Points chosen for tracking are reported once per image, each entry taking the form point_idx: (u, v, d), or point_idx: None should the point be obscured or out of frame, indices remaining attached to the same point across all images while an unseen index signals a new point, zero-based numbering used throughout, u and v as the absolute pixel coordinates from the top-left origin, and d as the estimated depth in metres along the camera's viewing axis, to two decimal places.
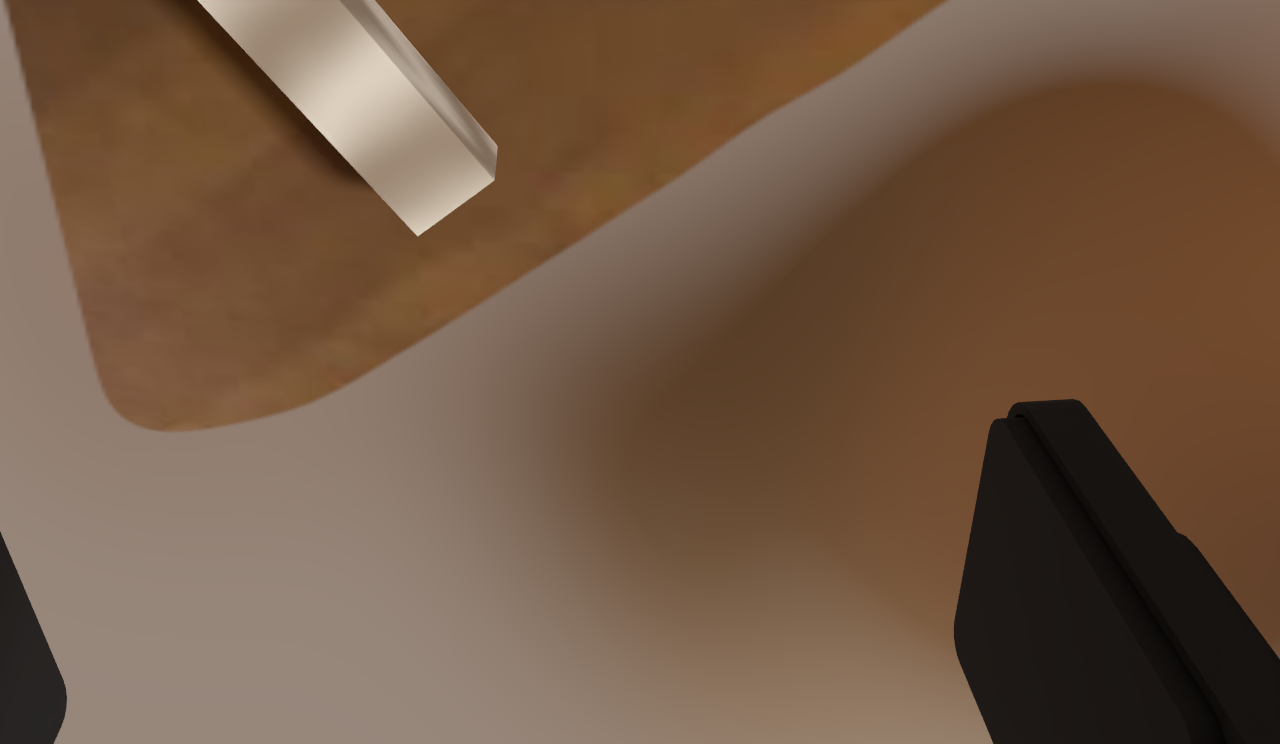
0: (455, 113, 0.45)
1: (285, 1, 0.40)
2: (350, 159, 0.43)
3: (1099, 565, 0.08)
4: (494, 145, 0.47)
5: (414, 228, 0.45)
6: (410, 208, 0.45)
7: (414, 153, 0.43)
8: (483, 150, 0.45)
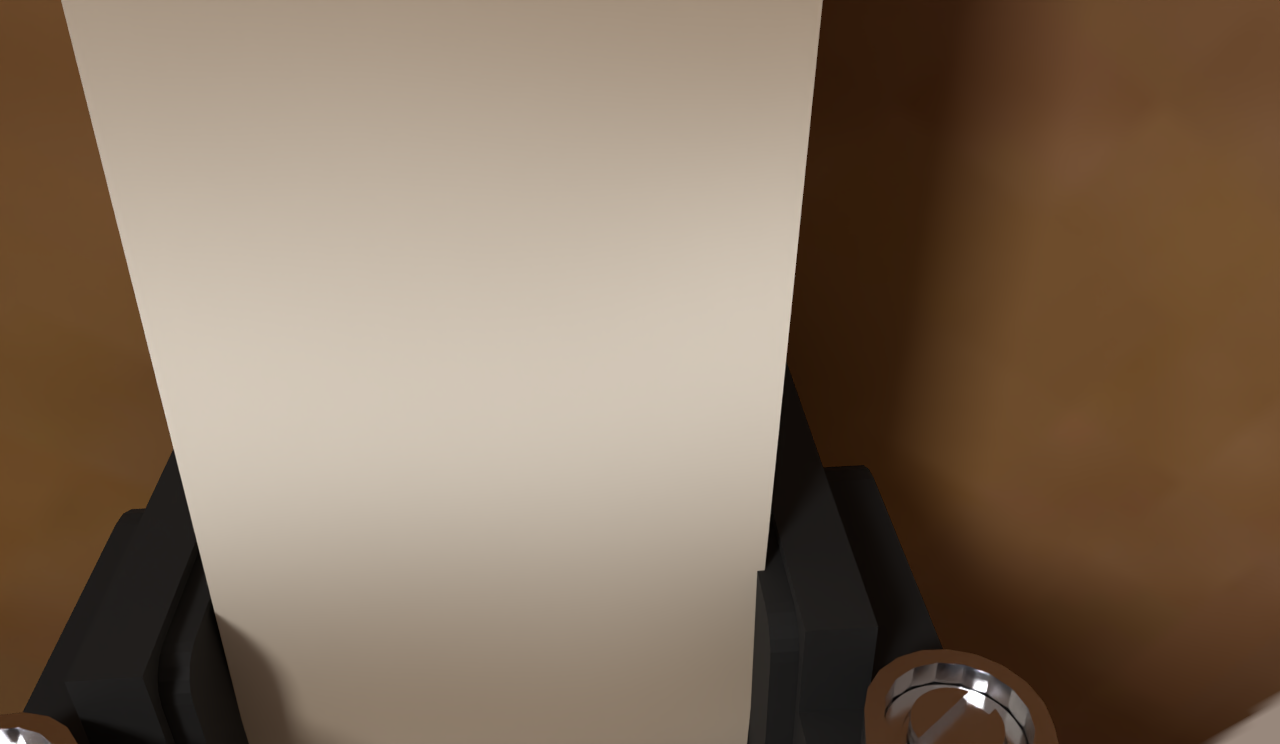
0: None
1: None
2: (787, 117, 0.06)
3: None
4: None
5: None
6: None
7: None
8: None
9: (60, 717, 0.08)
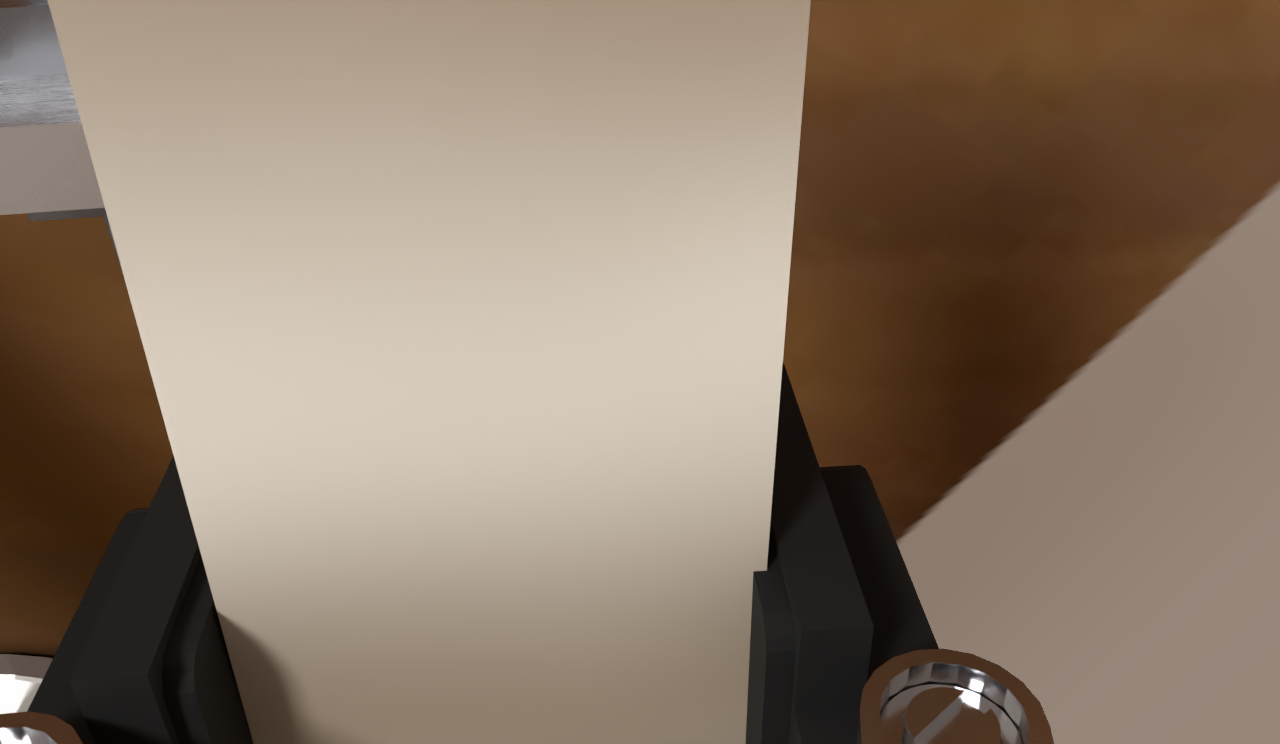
0: None
1: None
2: (778, 111, 0.06)
3: None
4: None
5: None
6: None
7: None
8: None
9: (64, 716, 0.08)
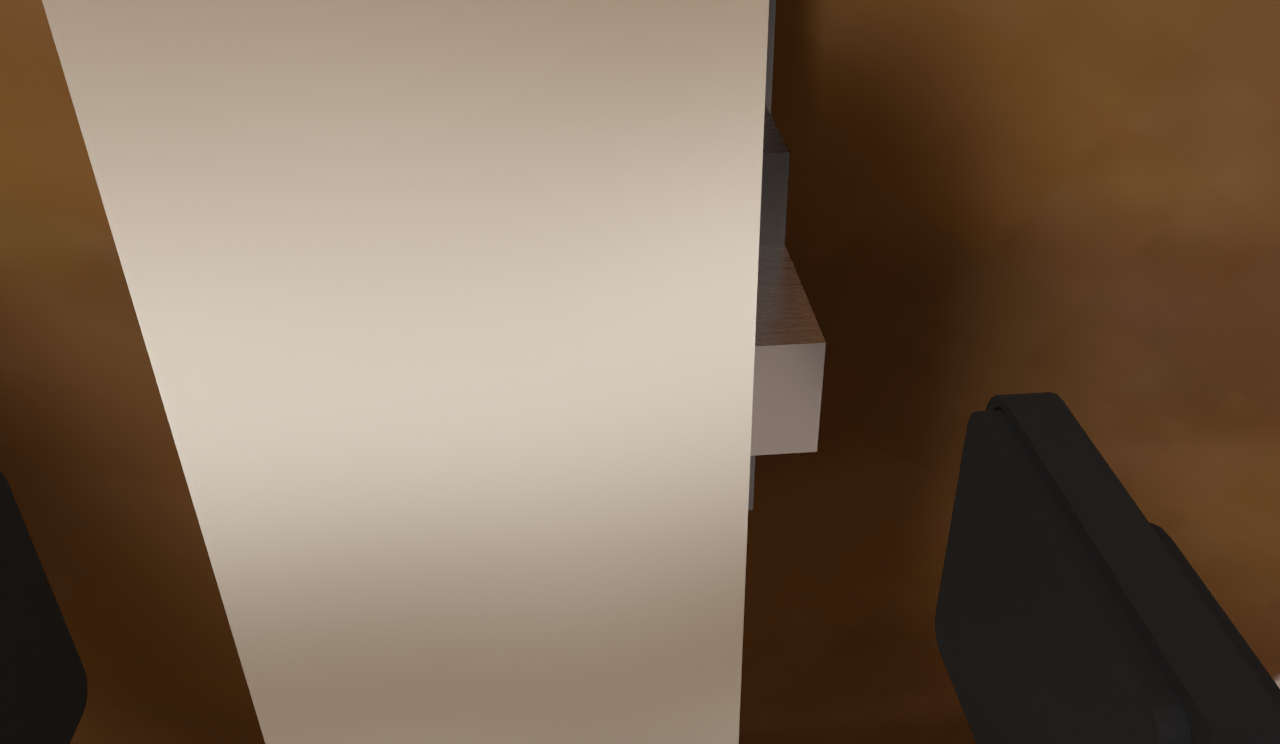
0: None
1: None
2: (743, 102, 0.07)
3: (1071, 555, 0.08)
4: None
5: None
6: None
7: None
8: None
9: None
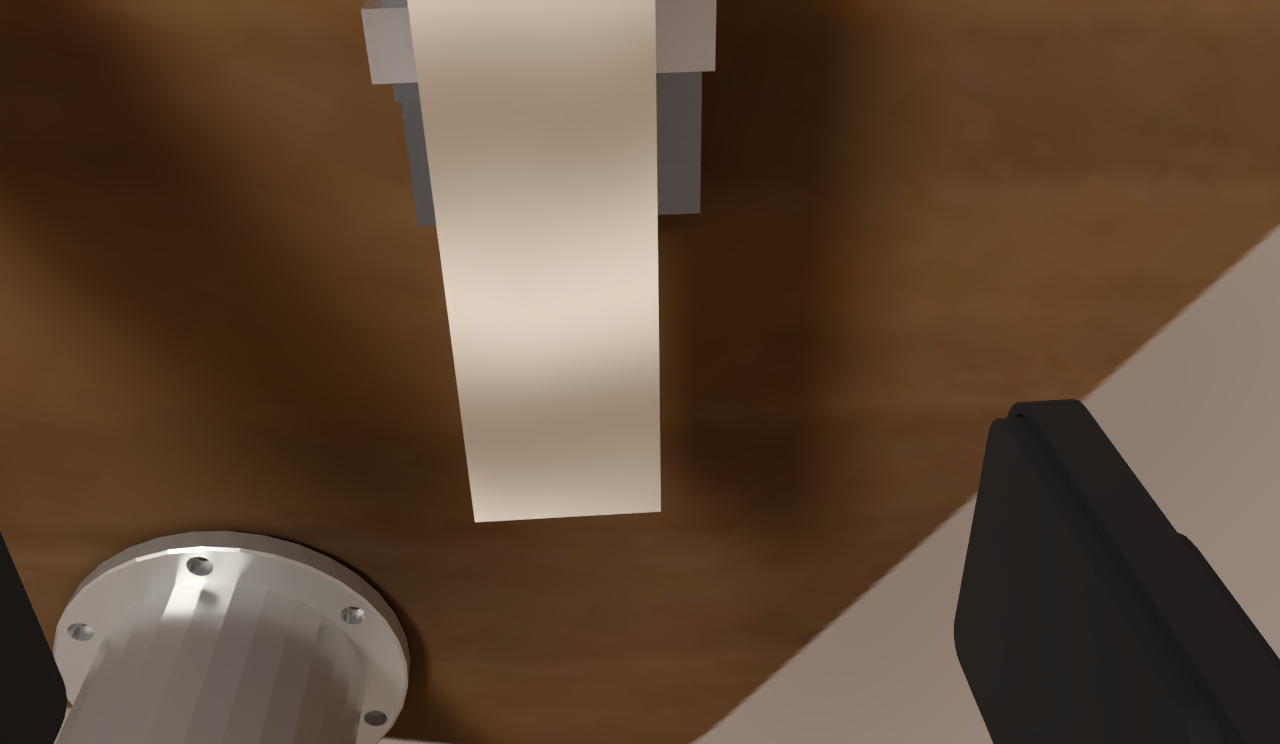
0: None
1: (518, 158, 0.20)
2: None
3: (1098, 565, 0.08)
4: None
5: None
6: None
7: None
8: None
9: None
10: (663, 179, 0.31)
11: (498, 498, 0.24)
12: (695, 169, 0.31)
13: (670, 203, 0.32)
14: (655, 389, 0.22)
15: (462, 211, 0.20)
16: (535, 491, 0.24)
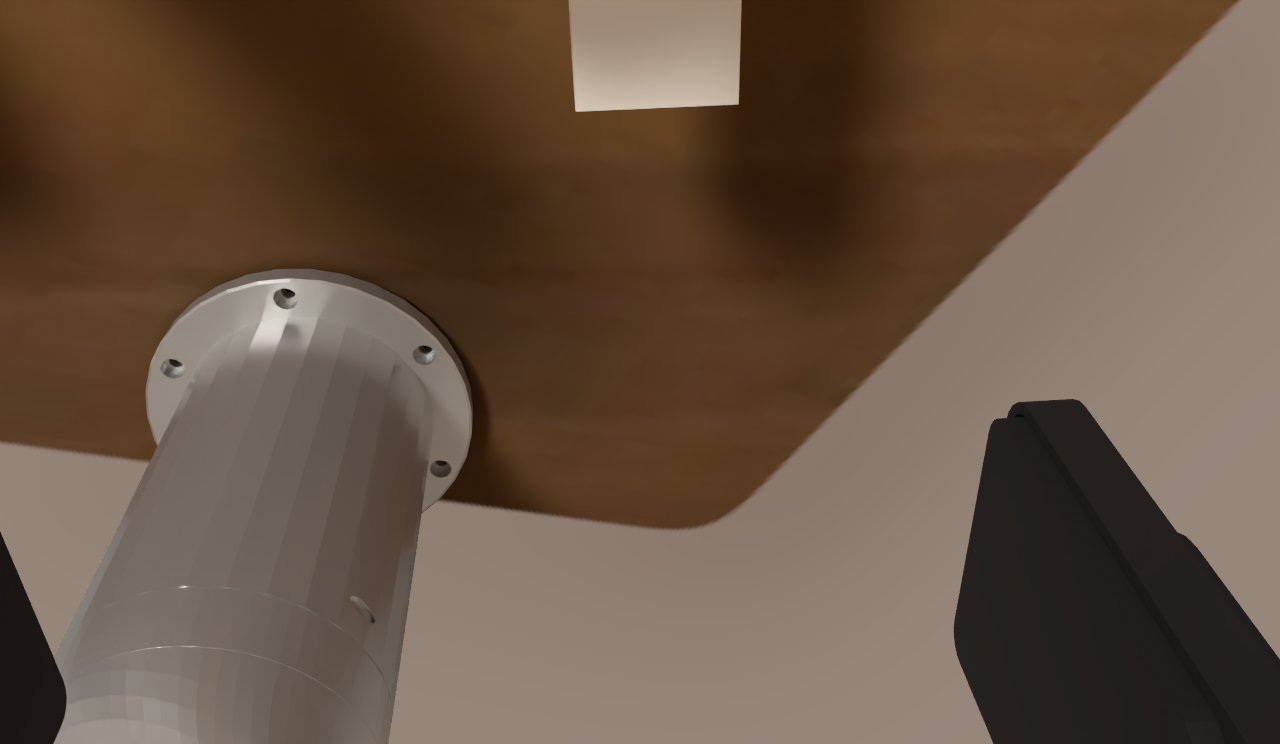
0: None
1: None
2: None
3: (1099, 565, 0.08)
4: None
5: None
6: None
7: None
8: None
9: None
10: None
11: (597, 85, 0.27)
12: None
13: None
14: None
15: None
16: (630, 79, 0.27)
